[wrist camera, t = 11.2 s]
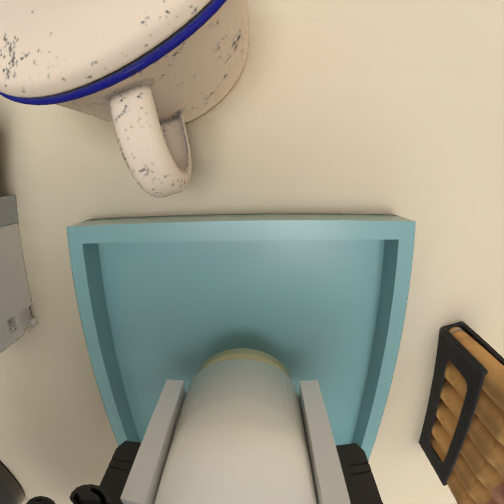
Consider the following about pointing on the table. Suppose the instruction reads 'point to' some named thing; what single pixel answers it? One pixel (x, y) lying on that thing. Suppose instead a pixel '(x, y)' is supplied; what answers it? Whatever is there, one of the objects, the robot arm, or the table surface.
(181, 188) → the teacup with lid
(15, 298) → the circuit breaker
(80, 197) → the table surface
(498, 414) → the ammunition clip
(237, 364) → the cylinder
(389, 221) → the parts tray
